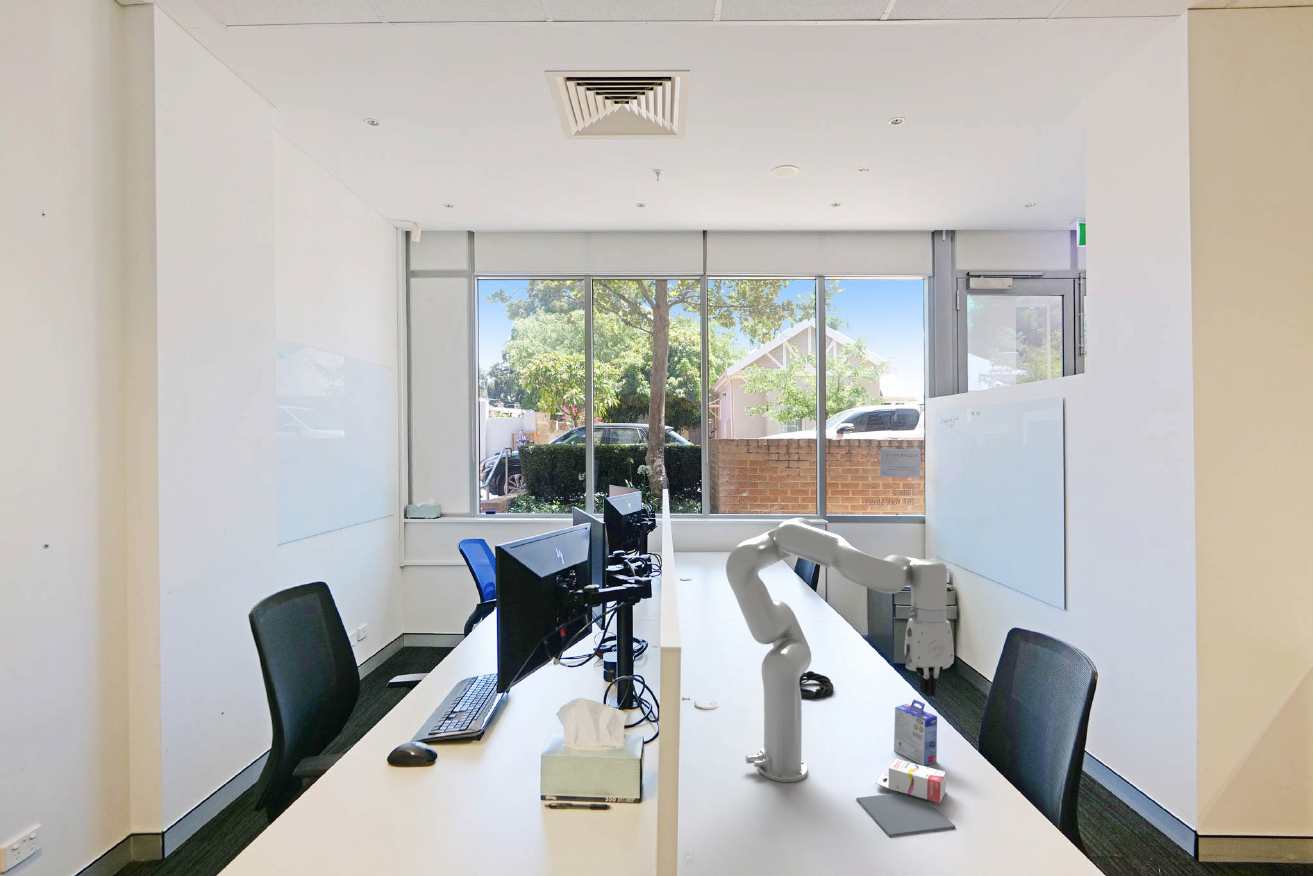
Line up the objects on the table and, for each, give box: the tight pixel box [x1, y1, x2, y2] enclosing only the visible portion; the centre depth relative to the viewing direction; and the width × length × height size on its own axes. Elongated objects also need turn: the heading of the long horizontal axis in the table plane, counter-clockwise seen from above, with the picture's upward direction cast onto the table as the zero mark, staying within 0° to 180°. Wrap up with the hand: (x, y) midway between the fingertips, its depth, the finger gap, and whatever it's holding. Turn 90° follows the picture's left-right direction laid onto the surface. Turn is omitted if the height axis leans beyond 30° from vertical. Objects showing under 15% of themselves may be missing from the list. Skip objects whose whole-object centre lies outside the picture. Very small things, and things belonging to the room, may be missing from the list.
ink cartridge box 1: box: [893, 699, 938, 767], centre depth 170 cm, size 10×6×14 cm, turn 31°
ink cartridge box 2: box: [875, 758, 947, 804], centre depth 154 cm, size 9×5×15 cm
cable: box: [799, 670, 834, 700], centre depth 215 cm, size 17×14×4 cm
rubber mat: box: [855, 792, 956, 837], centre depth 144 cm, size 16×14×1 cm
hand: (927, 693), depth 145 cm, fingers closed
